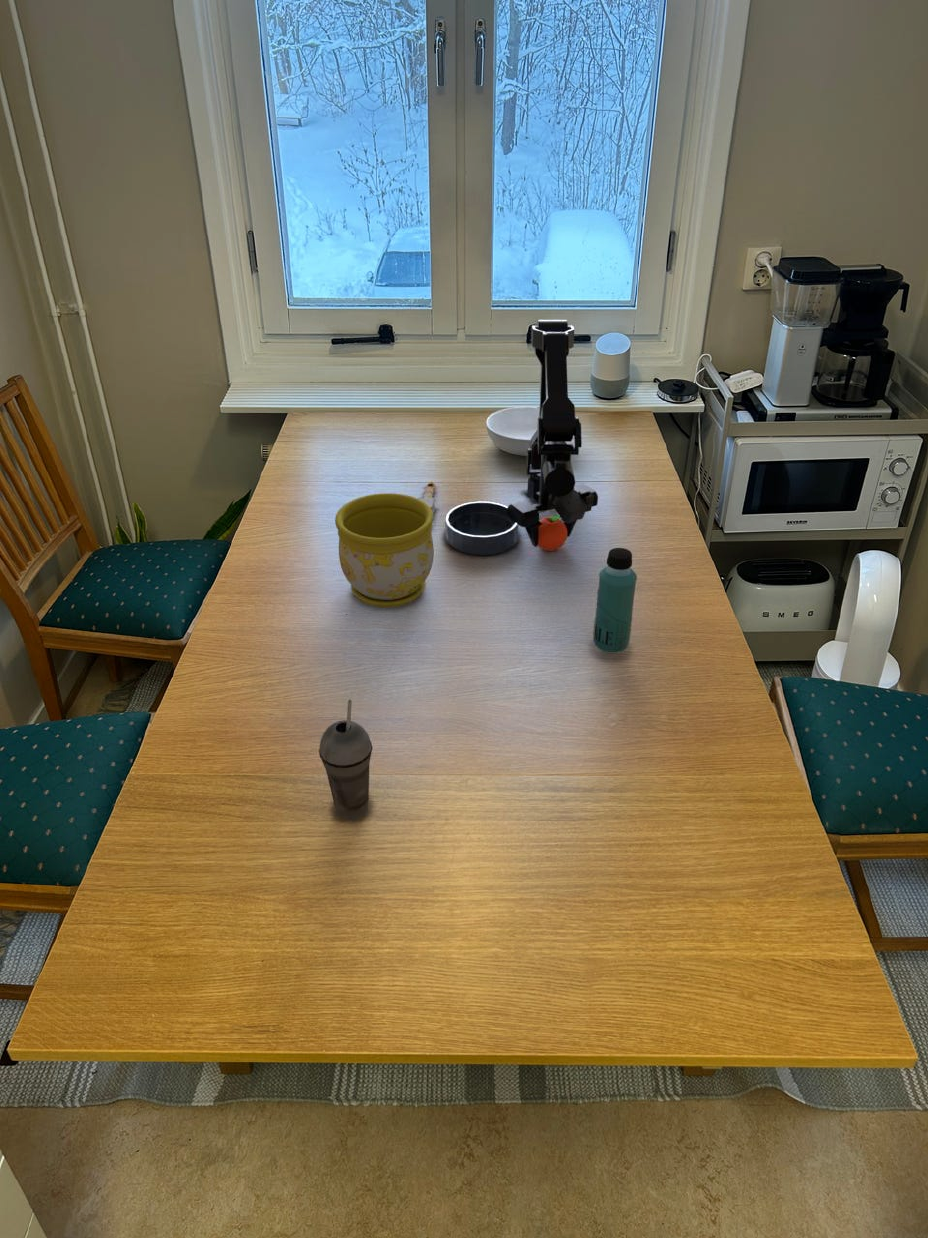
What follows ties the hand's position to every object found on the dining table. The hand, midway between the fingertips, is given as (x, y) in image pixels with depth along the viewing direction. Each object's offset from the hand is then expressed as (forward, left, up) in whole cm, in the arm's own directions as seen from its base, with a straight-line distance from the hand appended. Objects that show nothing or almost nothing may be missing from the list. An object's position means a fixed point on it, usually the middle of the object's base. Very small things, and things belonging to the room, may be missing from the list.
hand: (551, 541), depth 190 cm
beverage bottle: (+11, +34, -2) cm, 36 cm away
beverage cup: (+66, +45, -2) cm, 80 cm away
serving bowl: (-23, -43, -2) cm, 49 cm away
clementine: (0, 0, -2) cm, 2 cm away
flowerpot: (+36, -3, -2) cm, 36 cm away
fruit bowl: (+10, -11, -2) cm, 15 cm away
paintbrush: (+14, -28, -2) cm, 31 cm away
